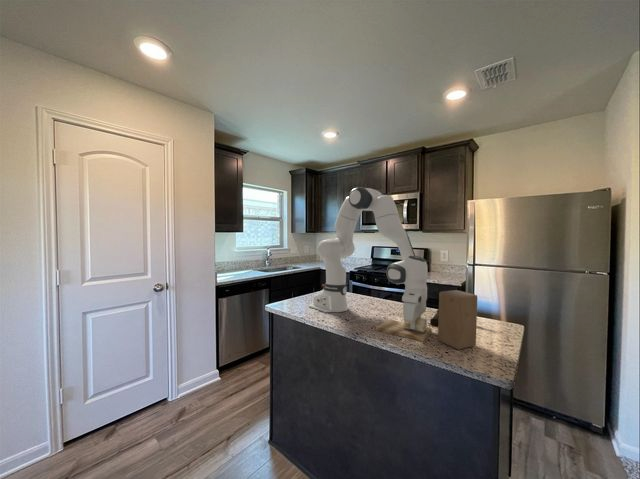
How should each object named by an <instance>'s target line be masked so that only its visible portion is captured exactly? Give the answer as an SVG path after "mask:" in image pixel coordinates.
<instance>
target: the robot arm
mask: <svg viewBox="0 0 640 479" xmlns="http://www.w3.org/2000/svg"><path fill="white" fill-rule="evenodd" d="M348 195H349V196H346V198H345V199H344V200H343V203H342V204H341V206H340V209H339V211H338V214H337V217H336V219H335V222H334V230H335V231H336V235H335V238H327V239H323V240H321V241H319V243H318V244H317V246H316V251H317V255H318V256H319V257H320V258H321V259H322V261H323V263H324V267H325V283H322V284H321V285H322V287H323V289H321V290H320V291H318V292H317V293H316V294H315V295H314V296H313V301H312V302H311V303H310V304H309V305H308V307H309V308H312V309H313V310H318V311H320V312H323V313H341V312H346V311H348V310H349V306H348V301H347V300H348V299H347V289H348V287H347V270H346V267H344V266H343V262H342V259H345V258H348V257H350V256H352V255H353V254H354V253H355V250H356V249H355V244H354V240H353V238H354V233H355V230H356V227H357V224H358V221H359V219H360V216H361V214H362V212H363V211H366V212H372V214H373V215H374V220H375V224H376V225H375V226H376V228H377V231H378V233H379V234H380V235H381V236H382V237H385V238H387V239H389V240H391V241H392V242H393V243H395V244H396V245H397V248H398V251H399V253H400V256H401V259H402V260H400V261H395V262H393V263H389V265H388V266H387V268H386V277H387V279H388V281H389V282H390V283H392V284H394V285H395V284H396V285H400V284H401V285H402V284H404V286H405V287H404V292H403V295H402V297H401V302H403V303H402V313H403V314H402V317H403V320H405V321H408V322H410V328H411V329H415V328H416V324H415V320H416V319H417V318H418V317H419V318H422V315H423V314H424V313H426V311H427V310H426V309H427V300H428V285H427V280H428V275H429V274H428V263H427V261H426V259H425V258H424V257H421V256H418V255H416V254H415V252H414V251H415V250H414V249H413V245H412V244H411V243H412V242H411V240H410V237H409V235H408V232H407V231H406V229H405V228H404V225H403V223H402V222H401V218H400V215H399V211H398V207H397V205H396V202H395V201H394V198H393V197H392V196H391V195H388V194H384V193H383V192H382V191H380V190H377V189H374V188H369V187H363V186H357V187H354V188H353V189H352V190H350V192H349V194H348Z"/></svg>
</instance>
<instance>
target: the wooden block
mask: <svg viewBox="0 0 640 479" xmlns="http://www.w3.org/2000/svg"><path fill="white" fill-rule="evenodd" d="M438 295H439V296H438V309H439V320H438V326H437V328H438V330H437V340H438V341H439V342H441V343H442V344H445V345H448V346H450V347H452V348H453V349H456V350H463V349H467V348H468V349H469V348H473V347H476V345H477V325H478V324H477V320H478V315H477V314H478V295H477V294H475V293H470V292H466V291H462V290H458V289H455V290H454V289H453V290H446V291H445V290H444V291H442V290H441V291H440V292H439V293H438Z"/></svg>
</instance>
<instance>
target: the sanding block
mask: <svg viewBox="0 0 640 479" xmlns="http://www.w3.org/2000/svg"><path fill="white" fill-rule="evenodd" d="M403 320H404V319H403ZM427 320H428V319H427V318H423V317H421V318H419V317H418V318H417V319H416V320H415V324H416V328H415V329H411V328H410V322H408V321H405V320H404V321H403V323H404V330H409V331H413V332H418V333H422V334H424V333H425V332H426V328H428V326H427V323H428V322H427Z"/></svg>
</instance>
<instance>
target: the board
mask: <svg viewBox="0 0 640 479" xmlns="http://www.w3.org/2000/svg"><path fill="white" fill-rule="evenodd" d="M375 331H379V332H383V333H385V334H386V333H387V334H391V335H394V336H399V337H403V338H408V339H411V340H416V341H420V342H424V341H425V340H427V339H426V338H428V336H430V334H431V333H432V328H430V327H426V332H425V333H424V334H422V333H418V332H413V331H409V330H404V321H403V322H402V321H397V320H392V319H386V320H384V321H383V322H381V323H380V324H378V325H377V326H376V328H375Z"/></svg>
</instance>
